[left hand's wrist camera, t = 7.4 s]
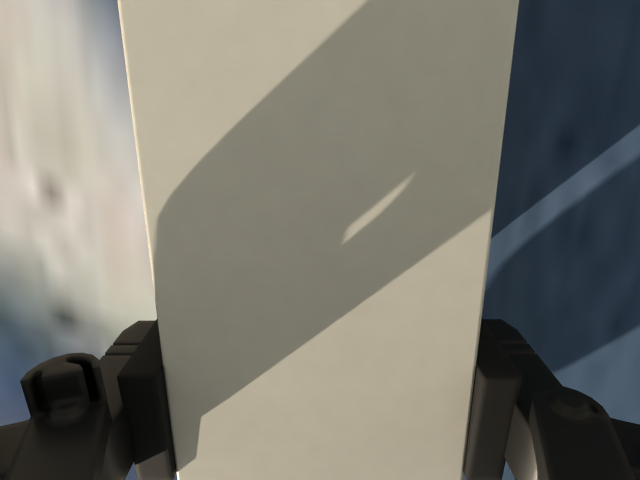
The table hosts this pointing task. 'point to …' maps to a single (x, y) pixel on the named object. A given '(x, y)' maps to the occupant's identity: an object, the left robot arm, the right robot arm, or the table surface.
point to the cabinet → (319, 226)
